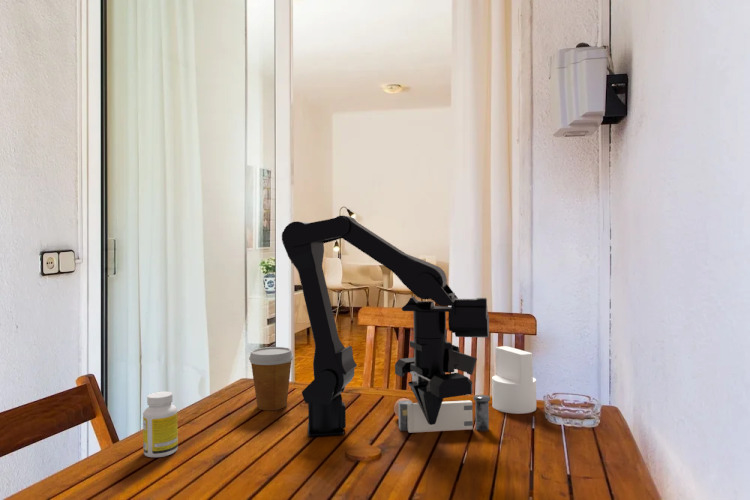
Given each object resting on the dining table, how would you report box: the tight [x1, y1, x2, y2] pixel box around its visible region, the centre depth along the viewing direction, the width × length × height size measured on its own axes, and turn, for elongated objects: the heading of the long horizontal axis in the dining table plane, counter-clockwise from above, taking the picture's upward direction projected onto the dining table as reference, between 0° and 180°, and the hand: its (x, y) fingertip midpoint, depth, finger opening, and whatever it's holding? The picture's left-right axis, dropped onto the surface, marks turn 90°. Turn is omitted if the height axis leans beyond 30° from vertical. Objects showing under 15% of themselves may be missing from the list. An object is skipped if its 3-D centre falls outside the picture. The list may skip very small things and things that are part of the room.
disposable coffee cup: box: [248, 346, 295, 411], centre depth 115 cm, size 10×10×12 cm
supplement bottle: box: [142, 391, 179, 458], centre depth 90 cm, size 5×5×10 cm
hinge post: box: [473, 394, 491, 432], centre depth 99 cm, size 3×3×6 cm
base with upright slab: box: [491, 345, 537, 415], centre depth 112 cm, size 9×9×12 cm
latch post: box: [397, 399, 413, 432], centre depth 99 cm, size 2×2×5 cm
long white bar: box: [407, 399, 474, 434], centre depth 98 cm, size 12×1×5 cm, turn 97°
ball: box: [393, 397, 411, 418], centre depth 106 cm, size 4×4×4 cm
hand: (431, 424), depth 94 cm, fingers closed
